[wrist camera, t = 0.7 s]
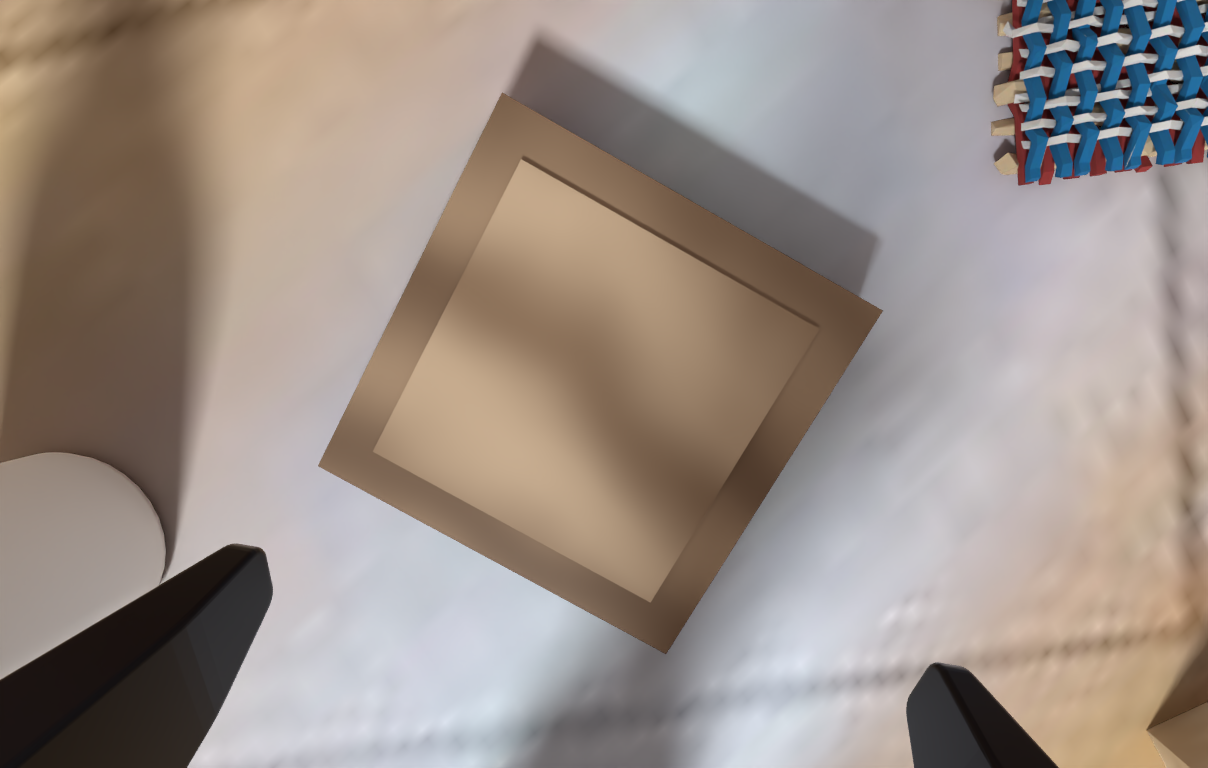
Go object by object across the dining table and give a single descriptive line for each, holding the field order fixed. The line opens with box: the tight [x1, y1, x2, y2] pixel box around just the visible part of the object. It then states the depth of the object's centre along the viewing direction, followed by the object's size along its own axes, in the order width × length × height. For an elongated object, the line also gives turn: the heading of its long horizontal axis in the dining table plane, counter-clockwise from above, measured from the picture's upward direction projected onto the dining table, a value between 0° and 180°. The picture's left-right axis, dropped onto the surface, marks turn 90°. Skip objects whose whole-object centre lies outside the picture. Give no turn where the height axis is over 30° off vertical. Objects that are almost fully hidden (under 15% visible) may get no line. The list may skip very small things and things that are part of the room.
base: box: [318, 93, 883, 654], centre depth 22 cm, size 14×14×3 cm
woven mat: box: [991, 0, 1208, 186], centre depth 20 cm, size 10×11×2 cm
